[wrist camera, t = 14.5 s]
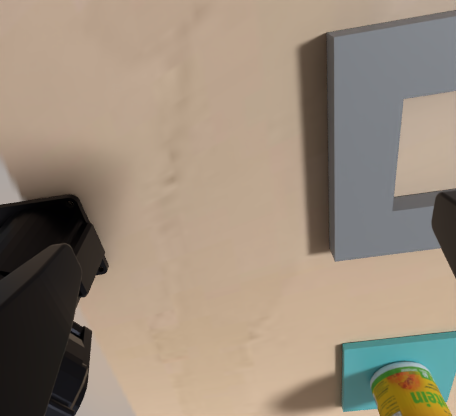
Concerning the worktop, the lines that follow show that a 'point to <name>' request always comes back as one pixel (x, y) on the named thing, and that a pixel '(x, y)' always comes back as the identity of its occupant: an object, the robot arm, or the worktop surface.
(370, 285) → the worktop surface
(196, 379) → the worktop surface
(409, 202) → the hole board
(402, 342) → the teal mat
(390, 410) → the supplement bottle
